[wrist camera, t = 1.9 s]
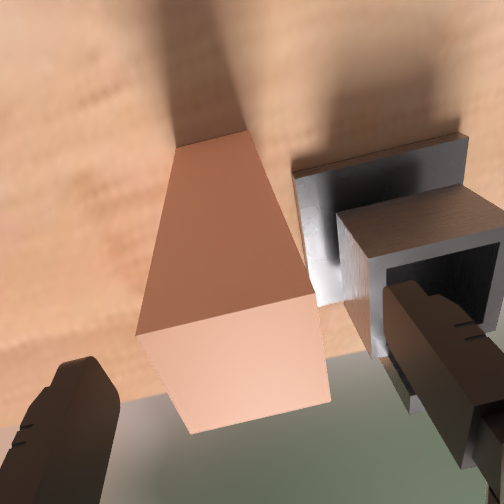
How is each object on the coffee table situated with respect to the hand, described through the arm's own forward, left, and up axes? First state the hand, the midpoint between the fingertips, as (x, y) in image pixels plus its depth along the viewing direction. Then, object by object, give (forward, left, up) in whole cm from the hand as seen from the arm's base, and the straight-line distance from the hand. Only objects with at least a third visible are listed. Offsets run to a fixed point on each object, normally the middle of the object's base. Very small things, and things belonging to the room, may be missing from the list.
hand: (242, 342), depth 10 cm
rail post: (0, 0, -13) cm, 13 cm away
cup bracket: (+6, +9, -13) cm, 17 cm away
